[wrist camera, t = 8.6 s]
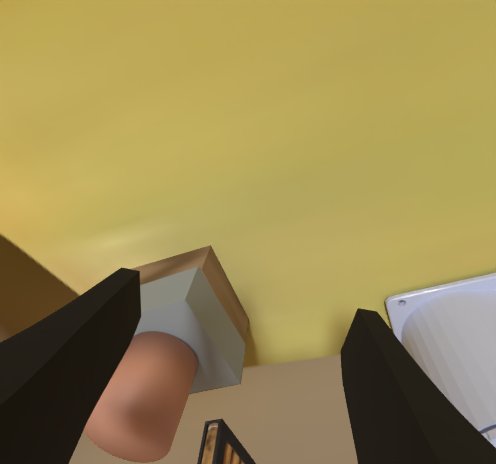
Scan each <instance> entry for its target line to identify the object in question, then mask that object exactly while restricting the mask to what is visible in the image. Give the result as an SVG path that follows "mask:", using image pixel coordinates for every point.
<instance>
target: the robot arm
mask: <svg viewBox="0 0 496 464" xmlns="http://www.w3.org/2000/svg"><path fill="white" fill-rule="evenodd" d="M401 300H404V301H402V302H399V301H401ZM385 304H386V308H387V311H388V315H389V319H390V322H391V326H392V329H393V332H392V331H391V329H390V328H389V327H388V325H387V324H386V323H385V321H384V320H383V319H382V317H381V316H380V315H379V314H378V312H376V311H370V310H364V309H359V308H358V310H357V312H356V314H355V317H354V319H353V322H352V324H351V327H350V329H349V332H348V334H347V337H346V339H345V342H344V344H343V347H342V349H341V368H342V379H343V387H344V392H345V398H346V403H347V408H348V413H349V418H350V423H351V428H352V433H353V439H354V443H355V448H356V454H357V459H358V464H496V273H492V274H487V275H483V276H479V277H474V278H470V279H465V280H461V281H456V282H452V283H447V284H443V285H438V286H434V287H429V288H425V289H421V290H416V291H412V292H407V293H403V294H398V295H394V296H390V297H388V298H387V299H386V300H385ZM140 319H141V294H140V271H137V270H132V269H126V268H120V269H119V270H117V271H116V272H114V273H113V274H111V275H110V276H108V277H107V278H106V279H104V280H103V281H101V282H100V283H98V284H97V285H95V286H94V287H92V288H91V289H90V290H88V291H87V292H85V293H84V294H82V295H81V296H79V297H78V298H76V299H75V300H73V301H72V302H70V303H68V304H67V305H65V306H64V307H62V308H61V309H59V310H57V311H56V312H54V313H52V314H51V315H49V316H48V317H46V318H44V319H43V320H41V321H39V322H37V323H36V324H34V325H32V326H31V327H29V328H27V329H25V330H24V331H22V332H20V333H18V334H16V335H14V336H12V337H11V338H9V339H7V340H4V341H3V342H1V343H0V464H69V461H70V459H71V456H72V454H73V452H74V450H75V448H76V446H77V443H78V441H79V439H80V437H81V434H82V432H83V430H84V428H85V426H86V423H87V421H88V419H89V418H90V416H91V414H92V412H93V410H94V408H95V406H96V404H97V403H98V401H99V399H100V397H101V395H102V394H103V392H104V390H105V388H106V387H107V385H108V383H109V381H110V379H111V378H112V376H113V374H114V372H115V371H116V369H117V367H118V365H119V363H120V362H121V360H122V358H123V356H124V354H125V353H126V351H127V349H128V347H129V345H130V343H131V341H132V339H133V336H134V334H135V331H136V329H137V326H138V324H139V321H140Z"/></svg>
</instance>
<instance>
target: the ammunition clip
mask: <svg viewBox="0 0 496 464" xmlns="http://www.w3.org/2000/svg"><path fill="white" fill-rule="evenodd" d="M197 464H256V463H255V462H254V460H253V459H252V458H251V456H250V455H249V454H248V453H247V451H246V450H245V448H244V447H243V446H242V444H241V443H240V442H239V440H238V439H237V438H236V436H235V435H234V434H233V432H232V431H231V430H230V429H229V427H228V426H227V424H226V423H225V422H224V420H223V419H218V420H212V421H206V422H205V427H204V432H203V437H202V442H201V448H200V453H199V458H198V463H197Z"/></svg>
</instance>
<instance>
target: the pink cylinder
mask: <svg viewBox="0 0 496 464" xmlns="http://www.w3.org/2000/svg"><path fill="white" fill-rule="evenodd" d="M197 369H198V362H197V359H196V356H195V354H194V353H193V351H192V350H191V349H190V347H189V346H188V345H187V344H185V343H184V342H183V341H181V340H180V339H178V338H176V337H174V336H172V335H170V334H167V333H163V332H157V331H146V332H141V333H139V334H136V335H135V336H133V339H132V341H131V343H130V345H129V347H128V349H127V351H126V353H125V354H124V356H123V358H122V360H121V362H120V363H119V365H118V367H117V369H116V371H115V372H114V374H113V376H112V378H111V379H110V381H109V383H108V385H107V387H106V388H105V390H104V392H103V394H102V395H101V397H100V399H99V401H98V403H97V404H96V406H95V408H94V410H93V412H92V414H91V416H90V418H89V419H88V421H87V423H86V426H85V428H84V432H85V434H86V435H87V437H88V438H89V439H90V440H91V441H92V442H93V443H94V444H95V445H97V446H98V447H99V448H101V449H102V450H104V451H106V452H108V453H109V454H111V455H113V456H116V457H119V458H122V459H124V460H128V461H133V462H154V461H157V460H160V459H162V458H163V457H165V456H166V455H167V454H168V452H169V451H170V447H171V445H172V442H173V439H174V436H175V433H176V430H177V428H178V425H179V422H180V419H181V416H182V413H183V410H184V407H185V404H186V401H187V399H188V395H189V393H190V390H191V387H192V384H193V381H194V378H195V375H196V372H197Z"/></svg>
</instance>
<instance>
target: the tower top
mask: <svg viewBox="0 0 496 464" xmlns="http://www.w3.org/2000/svg"><path fill="white" fill-rule="evenodd" d="M140 294H141V319H140V321H139V324H138V326H137V329H136V331H135V334H134V336H135V335H136V334H139V333H141V332H146V331H157V332H163V333H167V334H170V335H172V336H174V337H176V338H178V339H180V340H181V341H183V342H184V343H185V344H187V345H188V346H189V347H190V349H191V350H192V351H193V353H194V354H195V356H196V359H197V362H198V369H197V372H196V375H195V378H194V381H193V384H192V387H191V390H190V393H189V394H193V393H198V392H203V391H207V390H213V389H217V388H223V387H227V386H233V385H238V384H241V378H242V371H243V364H244V356H245V349H246V344H245V343H244V341H243V339H242V338H241V336H240V334H239V333H238V331H237V329H236V328H235V326H234V324H233V323H232V321H231V320H230V318H229V316H228V315H227V313H226V311H225V310H224V308H223V306H222V305H221V303H220V301H219V300H218V298H217V297H216V295H215V293H214V292H213V290H212V288H211V287H210V285H209V283H208V282H207V280H206V278H205V277H204V275H203V273H202V272H201V270H200V269H199V267H195V268H192V269H189V270H186V271H183V272H179V273H176V274H173V275H170V276H167V277H164V278H161V279H158V280H155V281H152V282H149V283H146V284H143V285H140Z"/></svg>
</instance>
